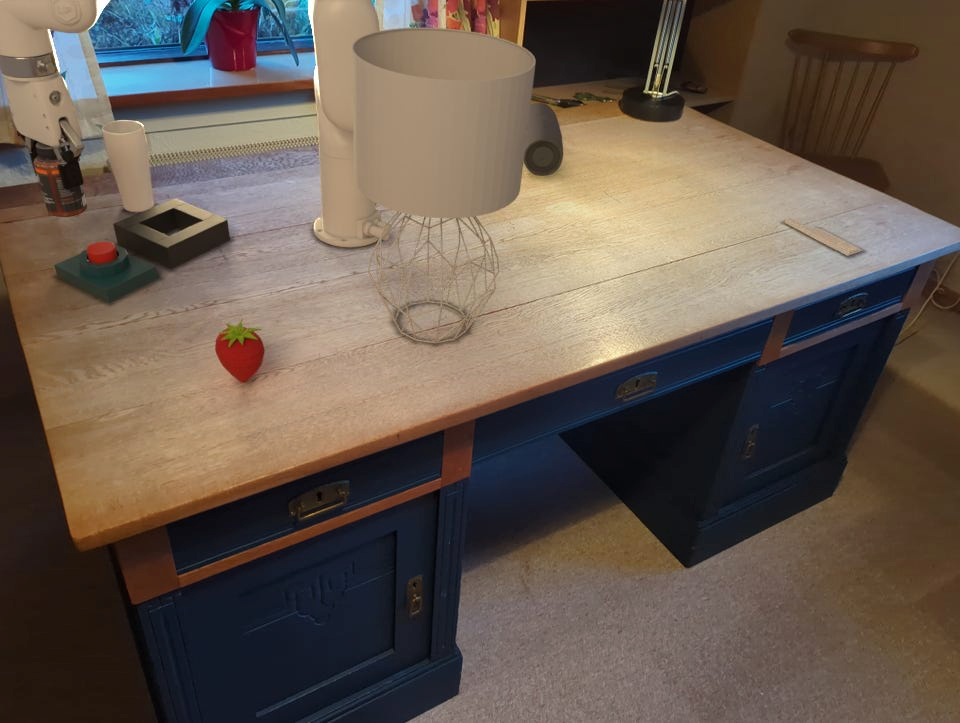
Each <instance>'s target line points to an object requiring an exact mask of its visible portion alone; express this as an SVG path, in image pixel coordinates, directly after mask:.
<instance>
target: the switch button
mask: <svg viewBox="0 0 960 723" xmlns="http://www.w3.org/2000/svg"><path fill="white" fill-rule="evenodd" d="M86 249H87V254H88V258H89V261H90V262H92V263H106V262H110V261H112V260H115V259H116V258H117V252H116V248H115V244H114V243H112V242H110V241H97V242H93V243H91V244H89V245H88V246H87V247H86Z"/></svg>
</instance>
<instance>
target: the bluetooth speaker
mask: <svg viewBox="0 0 960 723" xmlns="http://www.w3.org/2000/svg"><path fill="white" fill-rule="evenodd" d="M563 144H564V143H563V135H562V130H561V127H560V123H559V120H558V116H557V114H556V112H555V111H554V109H553V108H552V107H551V106H550V105H549V104H546V103H543V102H534V103H531V104H530V113H529V121H528V129H527V137H526V145H525V154H524V162H523V165H524V166H525V168H526V169H527V171H528V172H530V173H531V174H532V175H534V176H539V177H548V176H551V175H553V174H554V173H556V172H557V171H558V170H559V169H560V168H561V166H562V163H563V158H564V145H563Z"/></svg>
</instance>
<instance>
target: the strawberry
mask: <svg viewBox="0 0 960 723" xmlns="http://www.w3.org/2000/svg"><path fill="white" fill-rule="evenodd" d="M243 320H244V318H243V317H242V318H241V320H240V322H239V323H238V325H236V326H235V325H232V324H229V323H226V324H225V325H226V326H227V328H225V329H223V330H222V331H219V332H218V335H217V336H216V339H215V346H214V351H215V355H216V356H217V358H218V360H219V363H220V364H221V366H222V367H223V368H224V369H225V370H226V372H228V373H229V374H230V375H231V376H232V377H234V378H235V379H236V380H237V381H238V382H239V383H241V384H245V383H247V382H248V381H249V380H250V379H251V378H252V377H253V376H255V374H256V373H257V372H258V370H259V369H260V368H261V367H262V365H263V360H264V356H265V346H264V343H263V340H262V338H261V336H260V335H259V334H258V333H257V331H261V330H262V328H256V327H245V326H244V325H243Z"/></svg>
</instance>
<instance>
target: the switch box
mask: <svg viewBox="0 0 960 723" xmlns="http://www.w3.org/2000/svg"><path fill="white" fill-rule="evenodd" d="M114 245H115V244H114ZM115 248H116V252H117V258H116V259H115V260H112V261H110V262H106V263H92V262H90V261H89V258H88V254H87V248H86V249H84V250H82V251H81V252H80V253H79V254H76V255H73V256H72V257H69V258H67V259H65V260H62V261H60V262H58V263H56V264H53V266H54V269H55V272H56V277H57V278H59V279H61V280H63V281H65V282H67V283H69V284H71V285H73V286H75V287H77V288H79V289H80V290H82V291H85V292H87V293H89V294H91V295H93V296H95V297H97V298H98V299H101V300H103V301H105V302H106V303H108V304H111V303H112V302H114V301H116V300H118V299H119V298H122V297H124V296H126V295H128V294H130V293H132V292H134V291H136V290H138V289H140V288H142V287H144V286H146V285H148V284H150V283H152V282H154V281H156V280H158V279H159V276H158V272H157V267H156V266H155V265H152V264H151V263H148V262H146V261H144V260H142V259H140V258H137V257H136V256H134V255H131V254H130V253H128V252H127V249H126V248H124V247H121V246H119V245H118V244H116V245H115Z"/></svg>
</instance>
